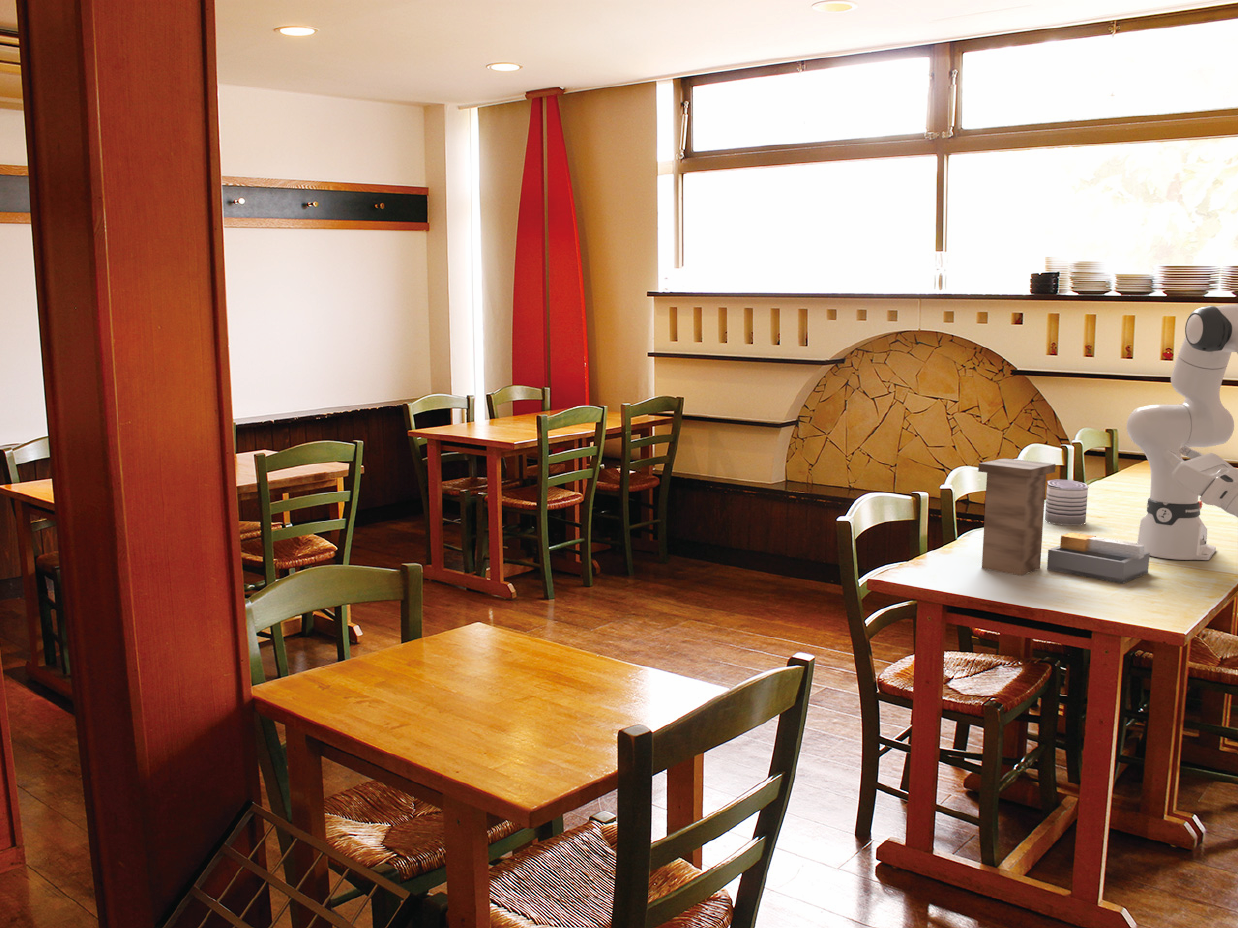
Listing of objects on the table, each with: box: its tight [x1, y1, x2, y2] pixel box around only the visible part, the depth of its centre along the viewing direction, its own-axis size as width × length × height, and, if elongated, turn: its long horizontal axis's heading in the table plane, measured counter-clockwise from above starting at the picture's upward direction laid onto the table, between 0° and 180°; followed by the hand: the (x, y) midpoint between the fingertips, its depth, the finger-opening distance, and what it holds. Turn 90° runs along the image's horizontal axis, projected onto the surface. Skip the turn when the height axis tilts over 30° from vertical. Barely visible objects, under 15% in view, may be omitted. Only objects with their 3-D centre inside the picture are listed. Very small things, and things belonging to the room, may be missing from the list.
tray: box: [1046, 545, 1150, 584], centre depth 256 cm, size 15×18×5 cm
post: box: [977, 458, 1057, 577], centre depth 257 cm, size 13×13×26 cm
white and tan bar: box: [1059, 531, 1145, 559], centre depth 255 cm, size 18×6×3 cm, turn 44°
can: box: [1044, 478, 1089, 526], centre depth 315 cm, size 11×11×12 cm
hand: (1173, 450), depth 241 cm, fingers open, 8 cm apart
